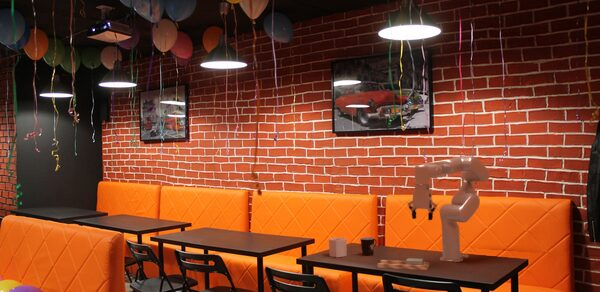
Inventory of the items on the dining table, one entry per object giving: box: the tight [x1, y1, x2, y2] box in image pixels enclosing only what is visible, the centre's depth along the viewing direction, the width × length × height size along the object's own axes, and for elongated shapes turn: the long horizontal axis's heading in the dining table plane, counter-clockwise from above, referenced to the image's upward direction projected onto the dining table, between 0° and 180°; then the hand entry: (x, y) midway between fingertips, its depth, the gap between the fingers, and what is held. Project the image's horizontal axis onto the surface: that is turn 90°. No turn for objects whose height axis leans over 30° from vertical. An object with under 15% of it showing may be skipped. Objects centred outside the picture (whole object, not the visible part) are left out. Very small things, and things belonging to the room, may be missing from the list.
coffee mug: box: [359, 236, 378, 257], centre depth 322 cm, size 12×9×10 cm
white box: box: [328, 237, 348, 258], centre depth 321 cm, size 11×12×10 cm
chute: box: [376, 259, 430, 271], centre depth 283 cm, size 26×10×3 cm, turn 70°
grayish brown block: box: [405, 257, 424, 265], centre depth 281 cm, size 8×6×4 cm
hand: (422, 219), depth 287 cm, fingers open, 9 cm apart
